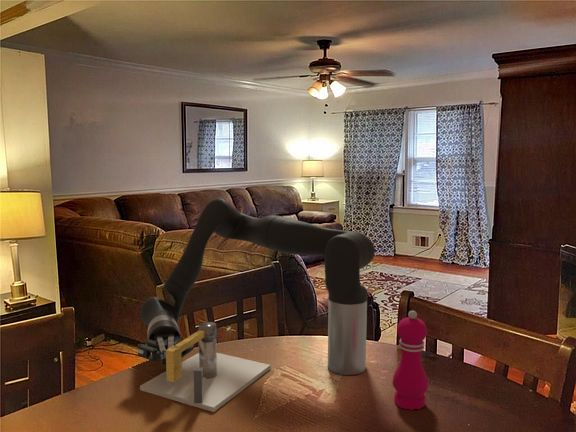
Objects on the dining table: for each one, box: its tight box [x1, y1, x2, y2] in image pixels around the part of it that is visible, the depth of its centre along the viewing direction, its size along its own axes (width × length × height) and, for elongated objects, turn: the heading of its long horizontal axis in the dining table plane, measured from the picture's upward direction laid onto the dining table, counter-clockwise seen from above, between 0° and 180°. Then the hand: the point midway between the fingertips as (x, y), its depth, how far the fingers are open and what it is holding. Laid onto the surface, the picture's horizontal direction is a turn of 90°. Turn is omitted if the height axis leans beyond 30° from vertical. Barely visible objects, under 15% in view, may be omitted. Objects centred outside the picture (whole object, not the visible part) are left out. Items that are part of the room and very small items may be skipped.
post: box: [198, 338, 218, 379], centre depth 114 cm, size 4×4×8 cm
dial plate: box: [139, 352, 272, 413], centre depth 114 cm, size 23×20×8 cm
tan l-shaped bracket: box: [165, 321, 217, 382], centre depth 107 cm, size 17×4×7 cm, turn 159°
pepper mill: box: [392, 310, 429, 411], centre depth 102 cm, size 7×7×20 cm
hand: (168, 362), depth 104 cm, fingers closed
